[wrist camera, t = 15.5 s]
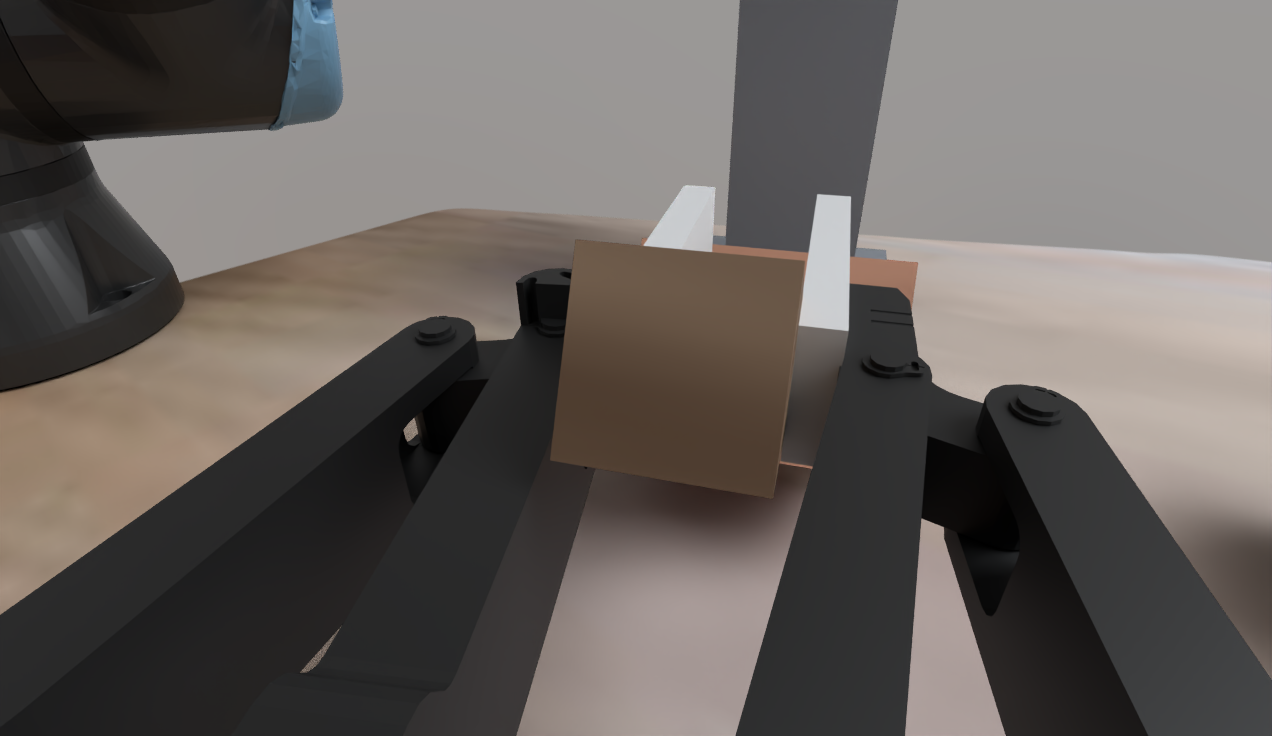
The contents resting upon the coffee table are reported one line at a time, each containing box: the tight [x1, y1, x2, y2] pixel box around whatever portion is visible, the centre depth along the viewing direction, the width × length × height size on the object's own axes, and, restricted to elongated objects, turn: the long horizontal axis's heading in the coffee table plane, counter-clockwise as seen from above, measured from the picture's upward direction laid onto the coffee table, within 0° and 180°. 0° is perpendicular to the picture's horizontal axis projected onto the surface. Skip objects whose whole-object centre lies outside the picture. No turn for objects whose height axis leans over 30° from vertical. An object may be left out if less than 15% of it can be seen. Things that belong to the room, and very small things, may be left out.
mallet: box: [550, 238, 918, 499], centre depth 18 cm, size 23×9×7 cm, turn 165°
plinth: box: [713, 0, 898, 260], centre depth 36 cm, size 12×12×26 cm
